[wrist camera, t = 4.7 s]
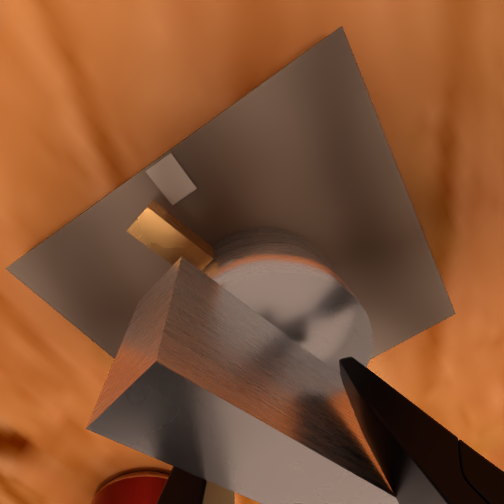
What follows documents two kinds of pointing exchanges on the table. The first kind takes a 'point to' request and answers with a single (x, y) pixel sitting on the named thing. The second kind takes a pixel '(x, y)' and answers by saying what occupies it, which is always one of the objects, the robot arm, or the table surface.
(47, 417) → the table surface
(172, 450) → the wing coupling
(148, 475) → the soda can
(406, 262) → the post base
